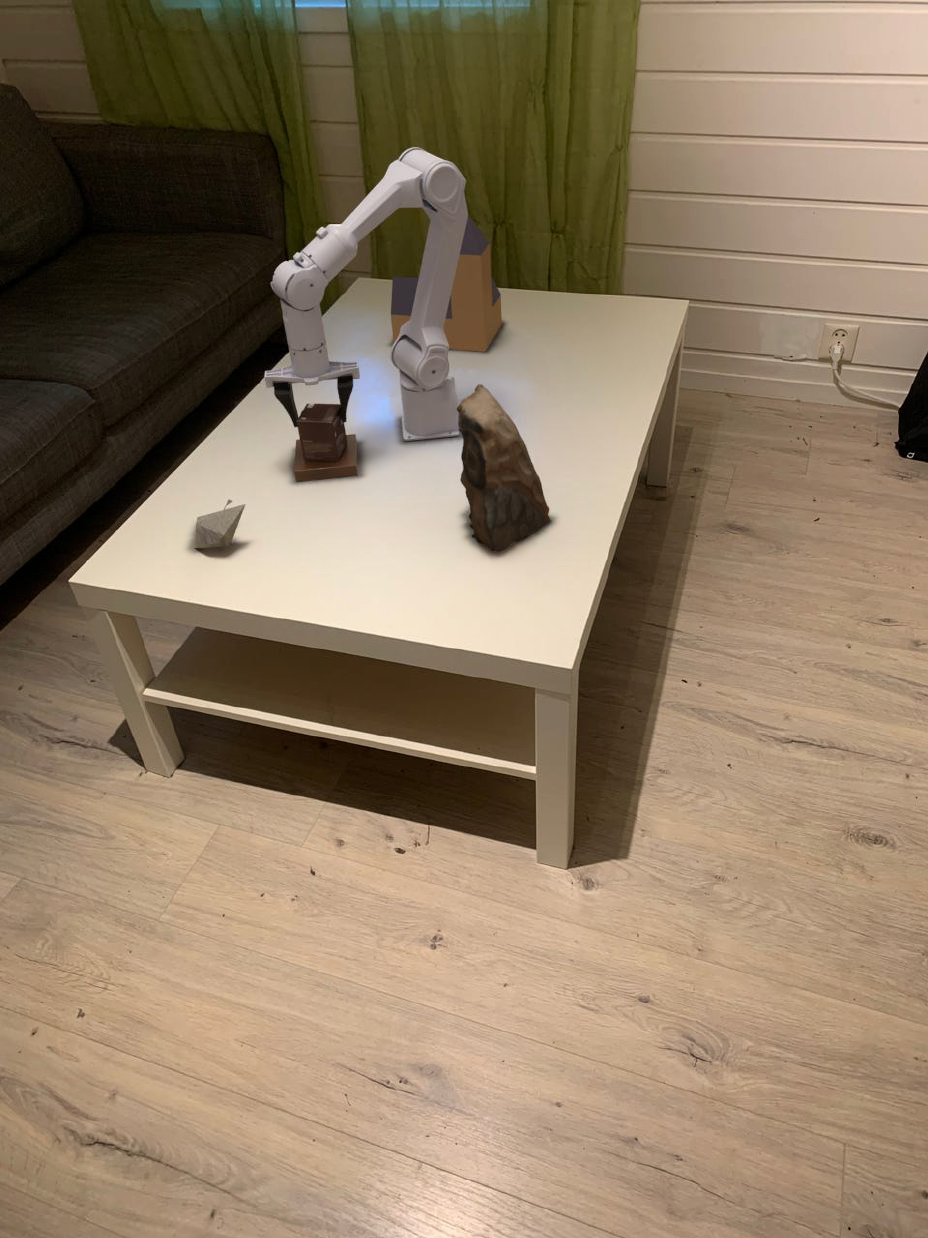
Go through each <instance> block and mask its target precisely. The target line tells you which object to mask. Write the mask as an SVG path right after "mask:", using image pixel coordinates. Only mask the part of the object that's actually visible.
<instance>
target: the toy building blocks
mask: <svg viewBox="0 0 928 1238" xmlns="http://www.w3.org/2000/svg"><path fill="white" fill-rule="evenodd" d="M491 259H492V258H491V242H490V241H489V239H488V238H487V237H486V235H484V233H483V231H482V230H481V229H480V228H479V226H478V225H477V224H476V223H475V221H474V220H473V219H472V217H471V216H470V215H469V214H468V217H467V223H466V228H465V232H464V237H463V241H462V246H461V250H460V255H459V259H458V264H457V268H456V273H455V277H454V282H453V286H452V291H451V295H450V300H449V304H448V309H447V313H446V318H445V322H444V327H443V330H444V333H445V336H446V338H447V341H448V344H449V350H457V351H468V352H479V353H486V352H487V350H488V348H489V347H490V345H491V343H492V342H493V340H494V338H495V337H496V335H497V333H498V332H499V330H500V329H501V326H502V324H503V323H502V322H503V321H502V293H500V290H499V288H498V286H497V285H496V283H495V281H494V279H493V276H492V260H491ZM418 280H419V277H406V276H392V283H391V302H390V322H391V329H392V340H393V344H394V343H395V341H396V340H397V338H398V336H399V333H400V329H401V326H402V325H404V324H405V323H406V322H408V321H409V320H410V319H411V314H412V309H413V304H414V299H415V294H416V289H417V284H418Z"/></svg>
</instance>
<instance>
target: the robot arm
mask: <svg viewBox="0 0 928 1238" xmlns="http://www.w3.org/2000/svg"><path fill="white" fill-rule="evenodd" d="M466 183H467V179H466V178H465V176H464V175H463V174H462V172H461V171H460V169H459V168H458V167H457V166H456V164H455V163H454V162H452V161H449V160H445V159H443V158H441V157H438V156H436V155H434V154H432V153H429V152H428V151H427V150H425V149H424V148H422V147H416V146H413V147H410V148H407V149H406V150H405V151H403V152H402V153H401V154H400V156H399V157H398V159H396V160H394V161H393V162H391V163H390V164H389V165H388V167H387V170H386V172H385V174H384V176H383V178H381V180H379V182H378V183H377V184H376V186H375V187H374V188H373V189H371V191H370V192H369V193H368V194H367V195H366V196H365V198H364V199H363V200H362V201H361V202H360V203H359V204H358V205H357V206H356V207H355V209H353V211H352V212H351V213H350V214H349V215H348V216H347V217H346V219H345V220H344V221H343V222H342V223H339V224H338V223H336V224H333V223H331V224H328V225H327V226H326V227H323V226H321V227H319V228H318V229H317V231H316V232H315V234H316V236H315V237H314V238H313V239H312V240H311V241H310V242H309V243H308V244H307V245H306V246H305V247H304V248H303V249H301V251H300V252H298V251H297V252H296V253H295V254H294V255H293V256H292V258H293V259H289V260H288V261H287V260H285V261H283V262H281V263H280V264H279V265H278V266H277V267H276V268H275V270H274V272H273V275H272V281H271V282H270V283H269V284H270V287H271V289H272V291H273V292H274V294H275V295H276V296H277V297H278V298H280V299H279V300H280V301H279V302H280V306H281V312H282V320H283V325H284V330H285V336H286V341H287V345H288V346H287V347H288V351H289V357H290V362H291V365H288V366H287V365H286V366H284V367H279V368H276V369H271V370H265V371H264V375H263V377H264V382H265V386H266V387H265V388H266V389H271V388H273V391H274V392H273V395H274V397H275V399H277V401H279V403H280V404H281V405H282V406H283V408H284V409H285V411H286V412H287V414H288V417H290V420H291V422H292V425H293V428H298V427H297V419H298V418H299V413H298V410H297V405H296V402H295V397H294V396H295V395H294V389H293V384H304V385H305V386H316V385H318V384H319V383H320V382H322V381H323V382H324V381H331V380H336V389H337V394H338V399H339V404H340V405H341V419H342V423H344V424H345V423H347V419H348V418H347V411H348V406H349V401H350V397H351V394H352V392H353V389H354V380H360V378H361V374H360V373H361V372H360V366H359V361H354V362H353V361H352V362H348V361H347V362H345V361H335V360H334V361H333V360H330V359H329V353H328V346H327V341H326V335H325V330H324V328H325V327H324V321H323V315H322V311H321V305H320V304H321V302H322V300H323V299H324V295H325V290H326V287H327V286H329V283H330V282H331V281H332V280H333V279H334V278H335V277H337V275H338V274H339V273H340V272H341V271H342V270H343V269H344V268H345V267H346V266H347V265H348V264H349V263H351V261H353V259H354V258H355V257H356V256H357V255H358V245H359V242H361V241H362V240H363V239H364V238H365V237H367V236H368V235H369V234H370V233H371V232H372V231H373V230H375V229H376V228H377V227H378V226H380V224H381V223H383V222H384V221H385V220H386V219H388V218H389V217H390V216H391V215H392V214H393V213H394V212H395V211H397V210H398V209H403V208H404V209H407V208H409V209H411V208H414V209H415V208H417V209H418V208H422V209H423V211H424V212H425V213H426V215H427V217H428V218H429V226H428V231H427V235H426V241H425V245H424V250H423V256H422V260H421V264H420V270H419V276H418V278H419V280H418V284H417V289H416V294H415V299H414V304H413V309H412V314H411V319H410V320H409V321H408V322H406V323H405V324H404V325H402V326H401V329H400V333H399V336H398V338H397V340H396V341H395V343H394V342H393V344H392V347H391V349H390V360H391V363H392V364H393V366H394V367H395V368H396V369H398V373H399V386H400V395H401V404H402V413H403V414H402V416H401V426H402V428H401V429H402V435H403V437H402V438H403V441H405V442H410V441H419V440H420V441H421V440H430V439H441V438H450V437H451V438H452V437H458V436H460V431H459V429H460V426H459V419H460V413H459V412H458V411H457V407H458V397H457V387H456V379H455V377H454V376H449V373H450V362H449V351H450V349H449V344H448V341H447V338H446V336H445V333H444V330H443V327H444V322H445V318H446V313H447V309H448V304H449V300H450V295H451V291H452V286H453V282H454V277H455V273H456V268H457V264H458V259H459V255H460V250H461V246H462V241H463V237H464V232H465V228H466V223H467V217H468V215H469V214H468V213H469V212H468V206H467V201H466V196H465V195H466V194H465V189H466V188H465V187H466Z"/></svg>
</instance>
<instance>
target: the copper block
mask: <svg viewBox="0 0 928 1238" xmlns="http://www.w3.org/2000/svg"><path fill="white" fill-rule="evenodd" d="M356 436H357V435H356V433H351V434H350V433H349V434H346V437H347V445H346V447H345V449H344V451H343V453H342V455H341V457H340V459H339V460H338V461H320V460H304V459H303V453H302V448H301V443H300V438H298V439H296V440H295V452H294V466H293V473H294V477H295V482H296V483H297V482H306V481H316V480H317V481H318V480H328V479H336V478H347V477H348V478H349V477H355V476H358V475H359V472H358V470H359V469H358V442H357V438H356Z"/></svg>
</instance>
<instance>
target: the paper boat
mask: <svg viewBox="0 0 928 1238" xmlns="http://www.w3.org/2000/svg"><path fill="white" fill-rule="evenodd" d="M231 503H233V500H231V499H228V500H227V502H226V504H225V506H224V508H223V509H222V510H218V511H215V512H211V513H207V514H203V515H200V516H197V517H196V523H195V524H196V525H195V534H194V535H195V536H194V546H193V547H194V549H209V548H211V549H213V548H228V546H230V544H232V541H233V538H234V536H235V533H236V530H237V528H238V525H239V523H240V520H241V517H242V515H243V513H244V509H245V508H246V503H244V504H243V503H242V504H240V505H236V506H233V507H229V508H227V506H229V505H230V504H231Z"/></svg>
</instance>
